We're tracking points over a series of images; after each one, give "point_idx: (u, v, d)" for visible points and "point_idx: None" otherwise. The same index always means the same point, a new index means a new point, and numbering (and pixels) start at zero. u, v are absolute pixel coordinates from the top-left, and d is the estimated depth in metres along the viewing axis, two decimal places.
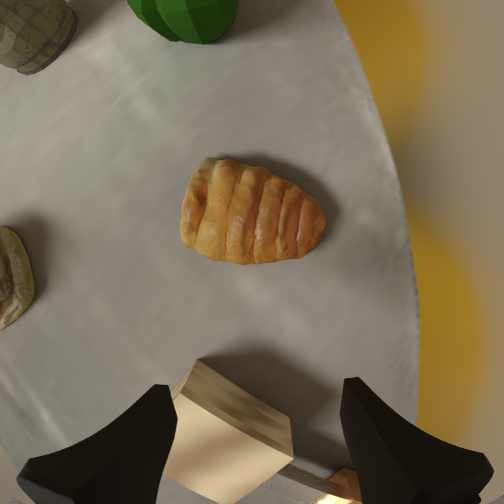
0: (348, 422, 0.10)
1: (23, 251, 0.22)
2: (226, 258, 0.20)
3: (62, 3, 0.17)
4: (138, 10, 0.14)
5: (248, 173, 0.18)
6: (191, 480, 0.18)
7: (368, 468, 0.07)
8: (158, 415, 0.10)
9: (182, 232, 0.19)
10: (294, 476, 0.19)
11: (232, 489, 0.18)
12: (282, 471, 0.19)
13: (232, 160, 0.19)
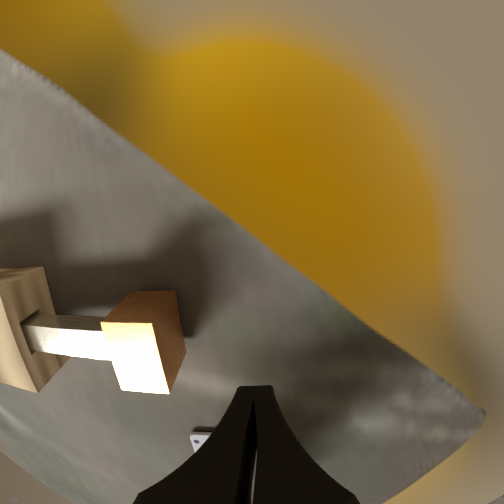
0: (257, 430, 0.10)
1: None
2: None
3: None
4: None
5: None
6: (0, 371, 0.16)
7: None
8: (252, 418, 0.10)
9: None
10: (55, 323, 0.17)
11: (15, 364, 0.16)
12: (41, 323, 0.17)
13: None
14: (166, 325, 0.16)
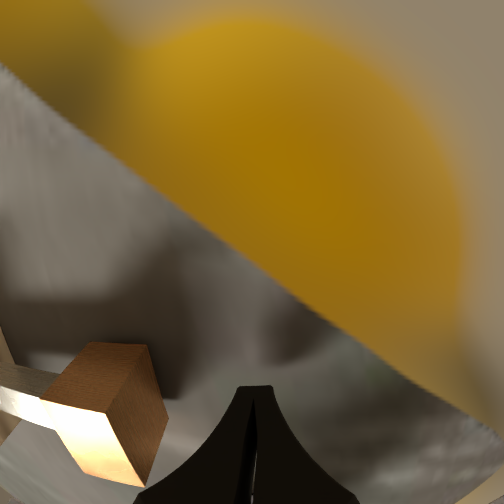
0: (257, 430, 0.10)
1: None
2: None
3: None
4: None
5: None
6: None
7: None
8: (252, 418, 0.10)
9: None
10: (1, 377, 0.10)
11: None
12: None
13: None
14: (133, 402, 0.10)
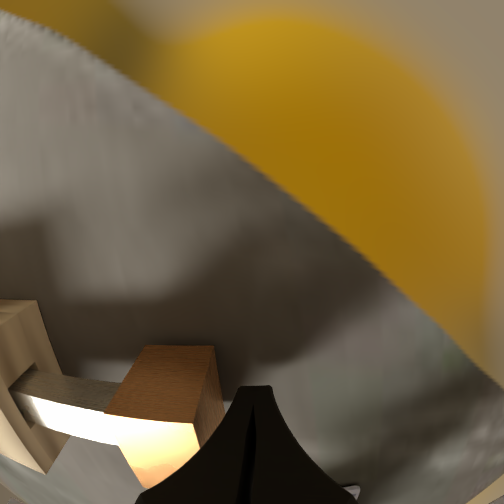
0: (256, 430, 0.10)
1: None
2: None
3: None
4: None
5: None
6: None
7: None
8: (253, 418, 0.10)
9: None
10: (37, 388, 0.10)
11: (9, 439, 0.09)
12: (19, 384, 0.10)
13: None
14: (208, 407, 0.10)
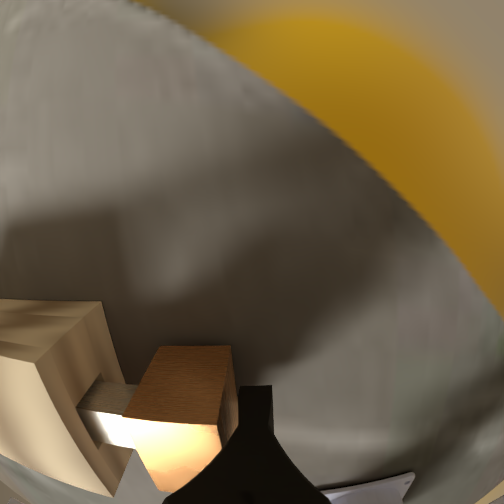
0: None
1: None
2: None
3: None
4: None
5: None
6: (38, 463, 0.09)
7: None
8: (271, 418, 0.10)
9: None
10: None
11: (71, 464, 0.09)
12: None
13: None
14: (227, 408, 0.10)
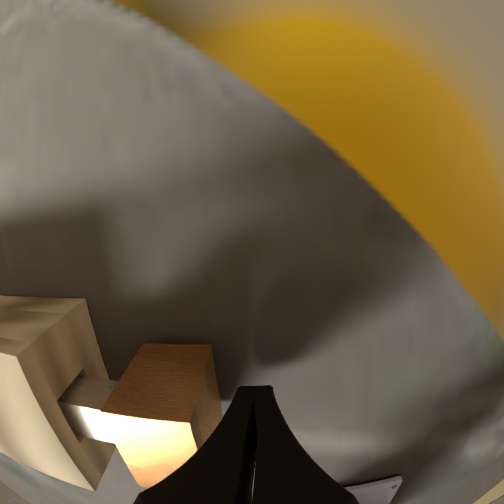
0: (256, 430, 0.10)
1: None
2: None
3: None
4: None
5: None
6: (25, 455, 0.09)
7: None
8: (253, 418, 0.10)
9: None
10: None
11: (53, 456, 0.09)
12: None
13: None
14: (205, 406, 0.10)
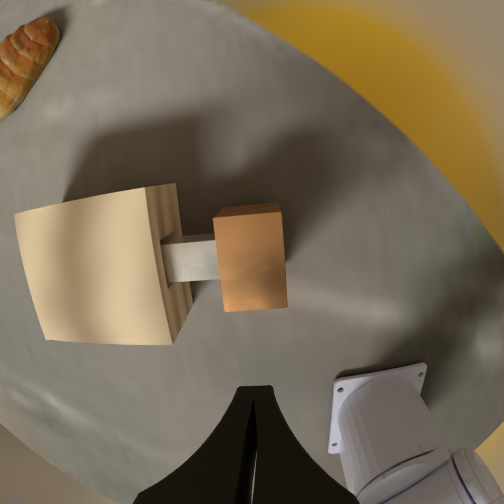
0: (257, 430, 0.10)
1: None
2: (8, 96, 0.15)
3: None
4: None
5: None
6: (101, 325, 0.15)
7: None
8: (252, 418, 0.10)
9: None
10: None
11: (141, 304, 0.15)
12: None
13: None
14: None
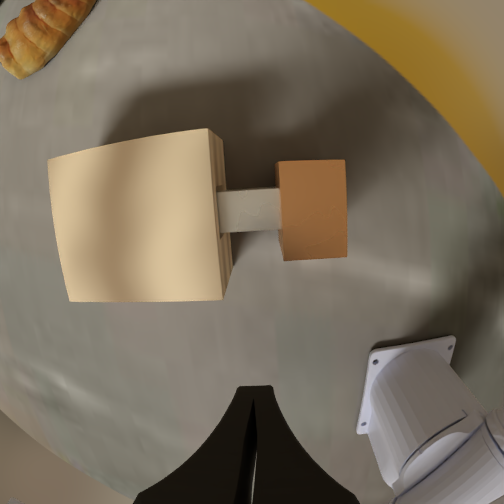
0: (257, 430, 0.10)
1: None
2: (41, 49, 0.14)
3: None
4: None
5: None
6: (140, 280, 0.15)
7: None
8: (252, 418, 0.10)
9: (7, 68, 0.14)
10: None
11: (192, 253, 0.14)
12: None
13: None
14: None
